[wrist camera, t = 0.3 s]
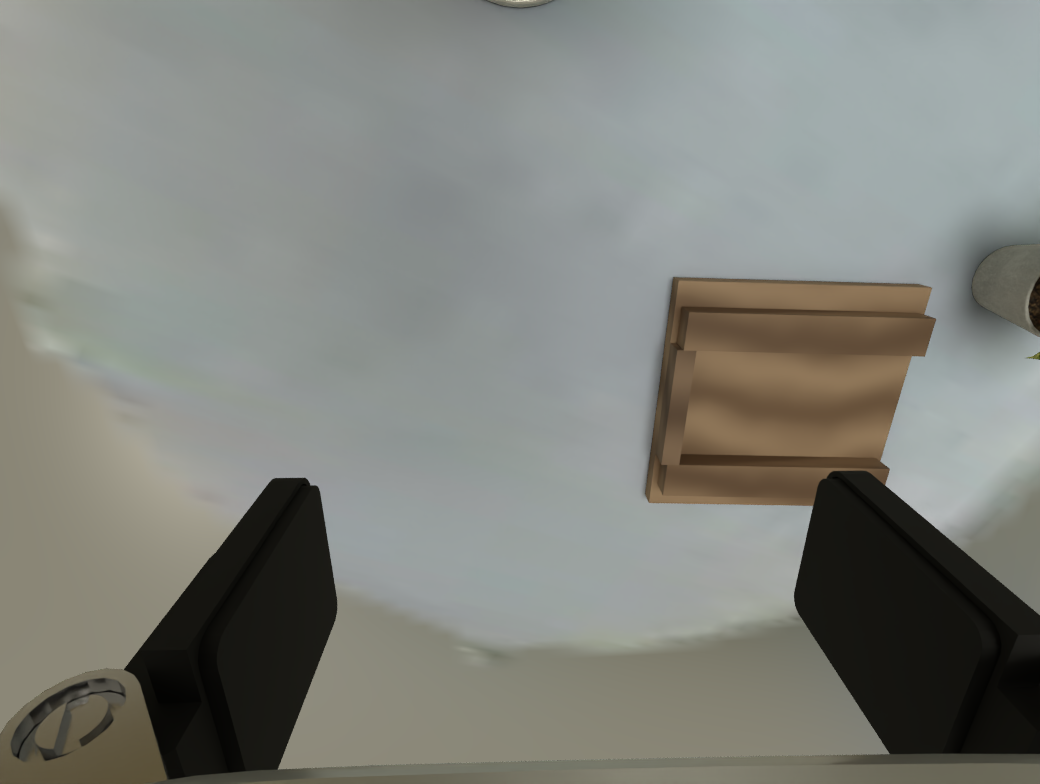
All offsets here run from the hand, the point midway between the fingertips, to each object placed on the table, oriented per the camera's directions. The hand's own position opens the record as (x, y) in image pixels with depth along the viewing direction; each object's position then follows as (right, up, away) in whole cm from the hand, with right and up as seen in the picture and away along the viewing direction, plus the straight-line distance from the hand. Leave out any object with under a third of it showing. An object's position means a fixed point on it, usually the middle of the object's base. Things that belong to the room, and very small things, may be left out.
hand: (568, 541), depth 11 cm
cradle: (+21, +2, +38) cm, 44 cm away
